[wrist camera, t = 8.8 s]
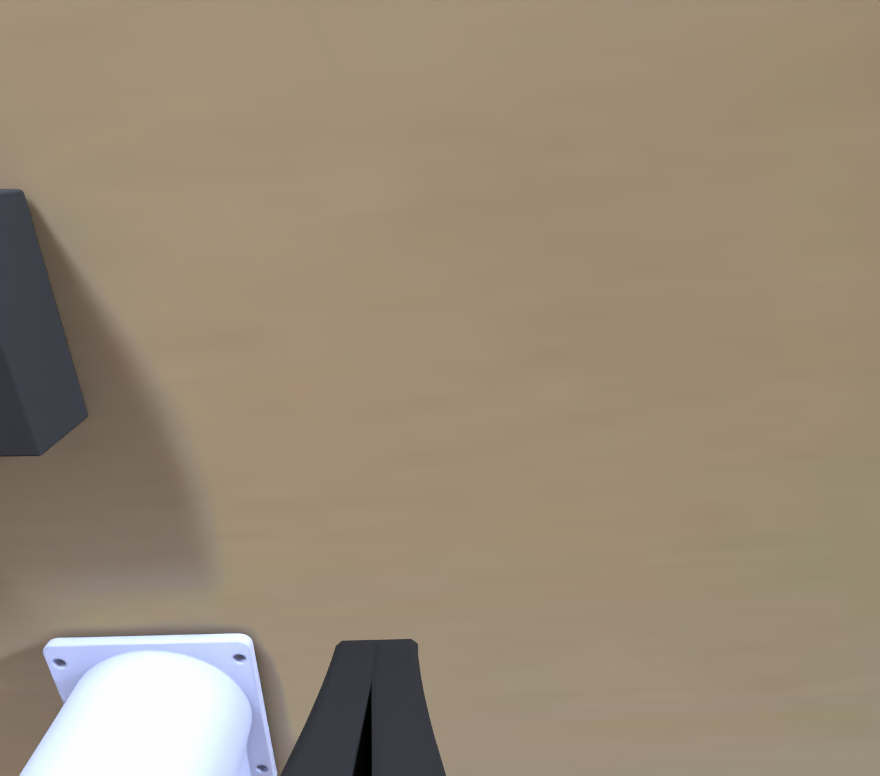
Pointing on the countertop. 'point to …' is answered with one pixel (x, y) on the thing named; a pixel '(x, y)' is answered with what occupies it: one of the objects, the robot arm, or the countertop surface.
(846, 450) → the countertop surface
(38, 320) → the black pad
